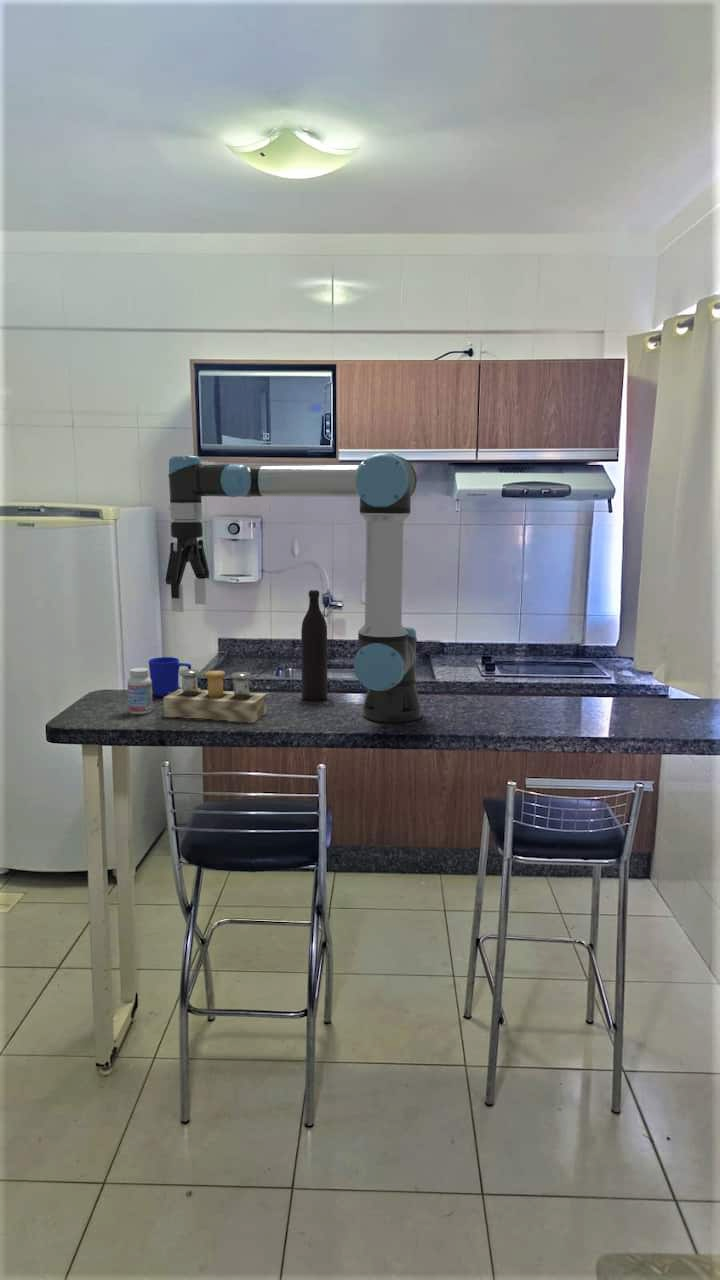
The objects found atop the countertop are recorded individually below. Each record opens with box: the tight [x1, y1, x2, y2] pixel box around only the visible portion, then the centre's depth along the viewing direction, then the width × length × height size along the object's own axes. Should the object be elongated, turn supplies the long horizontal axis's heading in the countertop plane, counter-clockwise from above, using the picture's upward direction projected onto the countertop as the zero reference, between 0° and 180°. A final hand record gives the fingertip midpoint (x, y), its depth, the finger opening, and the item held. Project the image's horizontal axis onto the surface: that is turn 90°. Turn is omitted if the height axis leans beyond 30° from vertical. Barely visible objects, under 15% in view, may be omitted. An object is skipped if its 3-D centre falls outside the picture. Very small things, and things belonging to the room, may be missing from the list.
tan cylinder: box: [204, 670, 226, 698], centre depth 203 cm, size 5×5×7 cm
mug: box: [148, 656, 192, 698], centre depth 223 cm, size 8×12×10 cm
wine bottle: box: [300, 589, 328, 702], centre depth 219 cm, size 7×7×30 cm
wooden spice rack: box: [162, 687, 268, 724], centre depth 204 cm, size 24×10×5 cm, turn 78°
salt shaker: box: [179, 668, 200, 697], centre depth 205 cm, size 5×5×7 cm
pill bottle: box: [126, 667, 154, 715], centre depth 206 cm, size 6×6×11 cm
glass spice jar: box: [230, 671, 252, 700], centre depth 202 cm, size 5×5×7 cm
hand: (189, 607), depth 197 cm, fingers open, 13 cm apart
